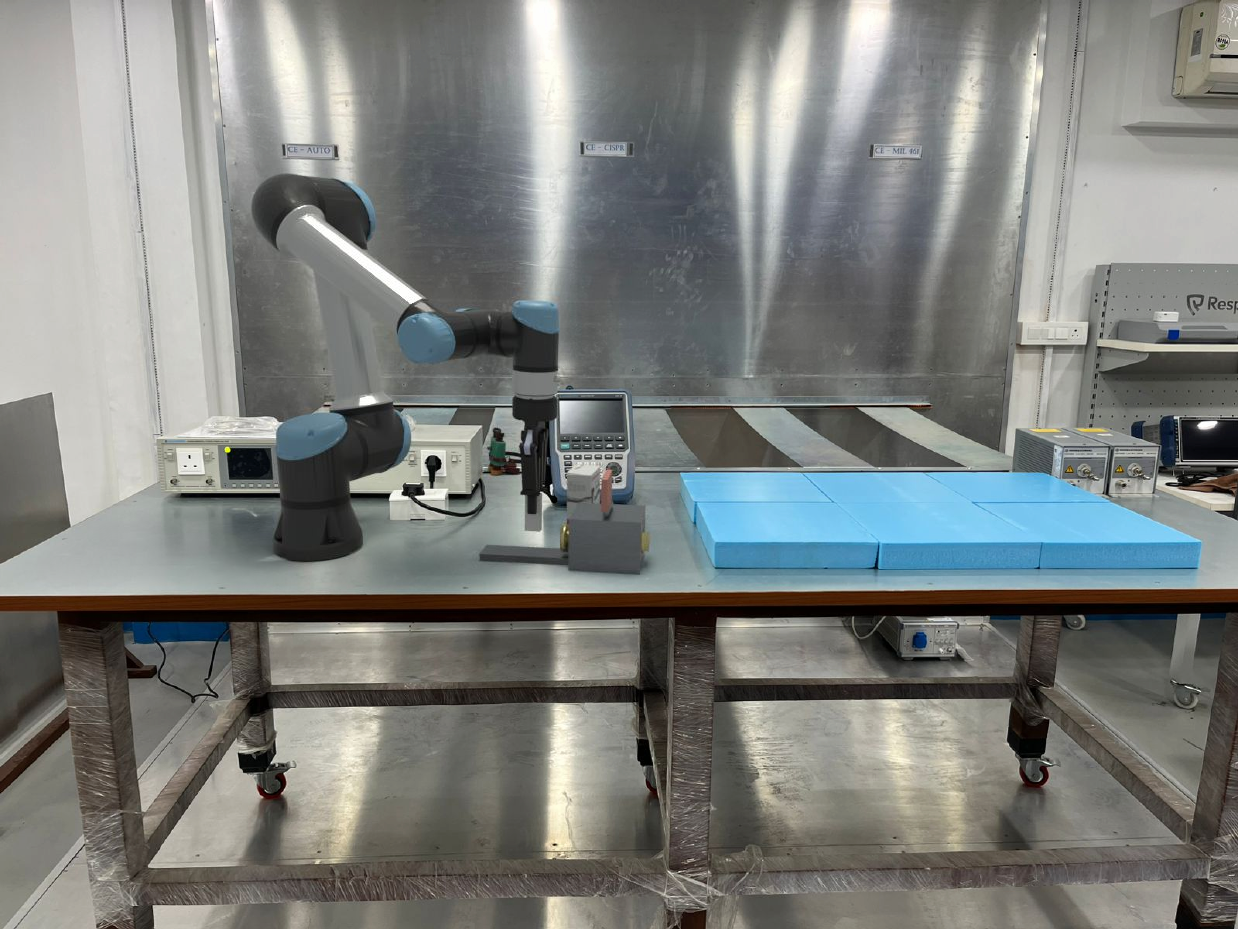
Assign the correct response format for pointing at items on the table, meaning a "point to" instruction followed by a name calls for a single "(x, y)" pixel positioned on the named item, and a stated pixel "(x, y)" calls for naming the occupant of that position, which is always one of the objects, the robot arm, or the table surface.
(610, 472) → the salmon pink slab
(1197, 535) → the table surface
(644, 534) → the lynch pin
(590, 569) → the block
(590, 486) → the ink box
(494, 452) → the green pump
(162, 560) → the table surface
